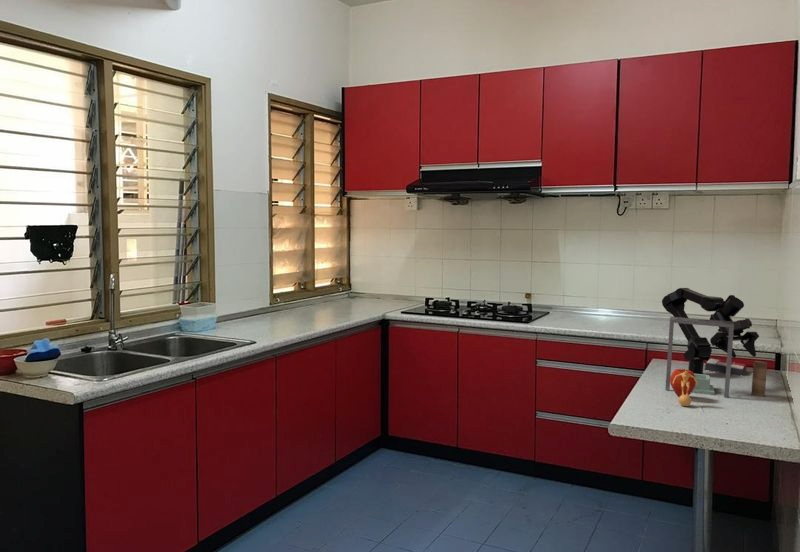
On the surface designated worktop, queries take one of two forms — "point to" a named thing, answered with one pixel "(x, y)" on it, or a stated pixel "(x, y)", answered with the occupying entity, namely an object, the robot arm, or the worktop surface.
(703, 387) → the socket block
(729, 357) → the grey table frame
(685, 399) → the figurine
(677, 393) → the apple
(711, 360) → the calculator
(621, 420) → the worktop surface
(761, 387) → the peg
